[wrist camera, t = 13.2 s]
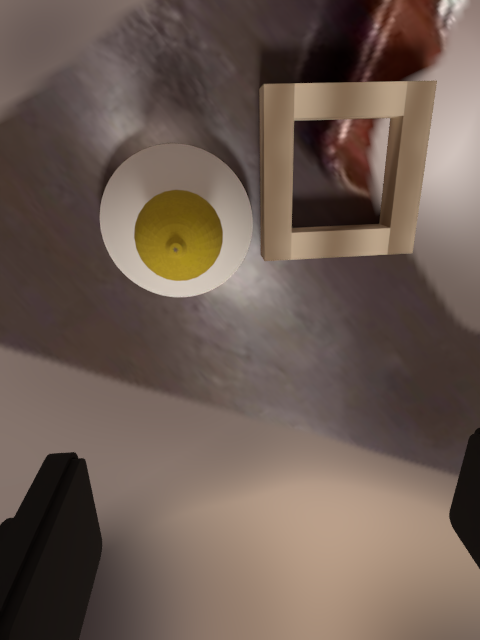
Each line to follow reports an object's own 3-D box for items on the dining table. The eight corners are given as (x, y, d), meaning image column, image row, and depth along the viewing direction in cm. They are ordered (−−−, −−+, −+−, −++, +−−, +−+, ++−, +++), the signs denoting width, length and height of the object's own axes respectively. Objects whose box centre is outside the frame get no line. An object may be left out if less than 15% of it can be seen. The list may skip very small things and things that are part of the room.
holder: (421, 85, 28) (436, 80, 26) (400, 247, 32) (412, 253, 31) (259, 88, 27) (263, 84, 25) (260, 254, 32) (264, 260, 30)
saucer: (249, 141, 28) (251, 140, 27) (252, 288, 33) (253, 292, 31) (91, 146, 27) (86, 145, 26) (115, 296, 32) (112, 301, 31)
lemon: (129, 205, 28) (103, 223, 21) (200, 172, 28) (200, 178, 20) (165, 274, 30) (154, 312, 23) (232, 244, 30) (242, 273, 22)
